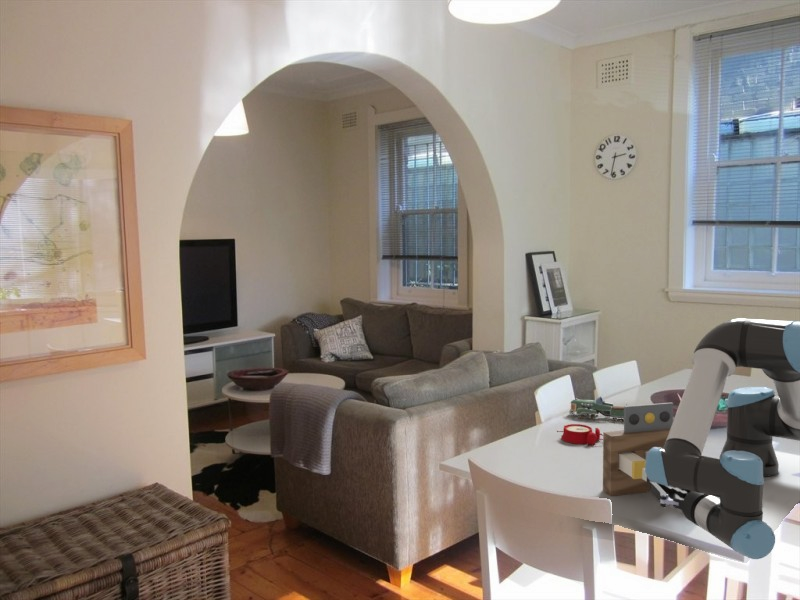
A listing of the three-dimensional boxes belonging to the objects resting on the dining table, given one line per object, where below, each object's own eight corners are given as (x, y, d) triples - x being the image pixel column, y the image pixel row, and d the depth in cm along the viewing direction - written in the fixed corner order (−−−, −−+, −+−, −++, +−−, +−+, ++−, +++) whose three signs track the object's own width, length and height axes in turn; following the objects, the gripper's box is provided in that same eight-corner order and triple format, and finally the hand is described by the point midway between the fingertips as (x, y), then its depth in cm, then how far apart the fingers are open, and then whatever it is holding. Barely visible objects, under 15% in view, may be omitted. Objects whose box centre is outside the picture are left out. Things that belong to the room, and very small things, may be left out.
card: (673, 429, 177) (673, 403, 176) (625, 433, 174) (626, 407, 173) (671, 428, 178) (671, 402, 177) (623, 432, 175) (624, 406, 174)
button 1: (649, 477, 167) (649, 461, 167) (634, 479, 166) (634, 462, 166) (629, 465, 176) (629, 450, 176) (615, 467, 175) (615, 451, 175)
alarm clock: (564, 422, 229) (607, 418, 220) (568, 440, 229) (611, 437, 220) (553, 430, 220) (597, 426, 212) (557, 449, 220) (602, 446, 212)
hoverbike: (572, 412, 255) (572, 391, 254) (640, 419, 244) (641, 397, 243) (566, 418, 247) (566, 396, 246) (637, 426, 235) (638, 403, 235)
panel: (692, 487, 178) (693, 428, 177) (610, 496, 173) (611, 436, 172) (682, 481, 182) (683, 424, 181) (602, 490, 177) (603, 432, 176)
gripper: (680, 531, 141) (621, 490, 164) (734, 525, 144) (668, 485, 167) (681, 497, 140) (621, 461, 163) (735, 491, 143) (668, 456, 166)
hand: (645, 473), depth 165 cm, fingers closed
